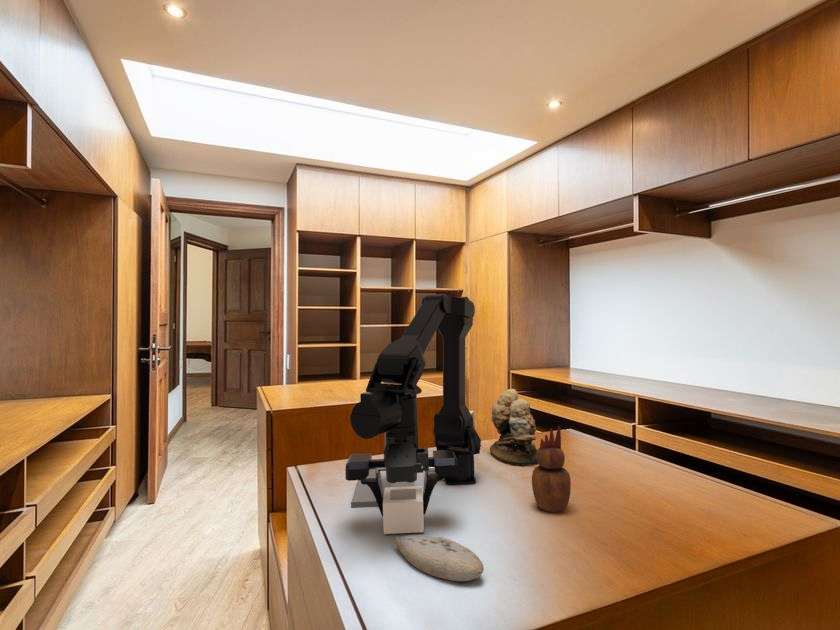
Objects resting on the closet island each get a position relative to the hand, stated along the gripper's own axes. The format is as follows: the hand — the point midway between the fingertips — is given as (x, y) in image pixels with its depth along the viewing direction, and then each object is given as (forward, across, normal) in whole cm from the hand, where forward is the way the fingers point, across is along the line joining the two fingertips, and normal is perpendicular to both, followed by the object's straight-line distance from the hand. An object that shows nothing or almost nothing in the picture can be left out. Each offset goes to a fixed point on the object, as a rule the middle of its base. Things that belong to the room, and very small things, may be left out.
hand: (403, 514), depth 75 cm
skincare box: (+2, +16, +40) cm, 43 cm away
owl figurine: (+2, +28, +34) cm, 44 cm away
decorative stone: (+2, +5, -12) cm, 13 cm away
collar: (+2, 0, 0) cm, 2 cm away
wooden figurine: (+2, +27, +4) cm, 27 cm away
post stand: (+2, -4, +14) cm, 15 cm away
